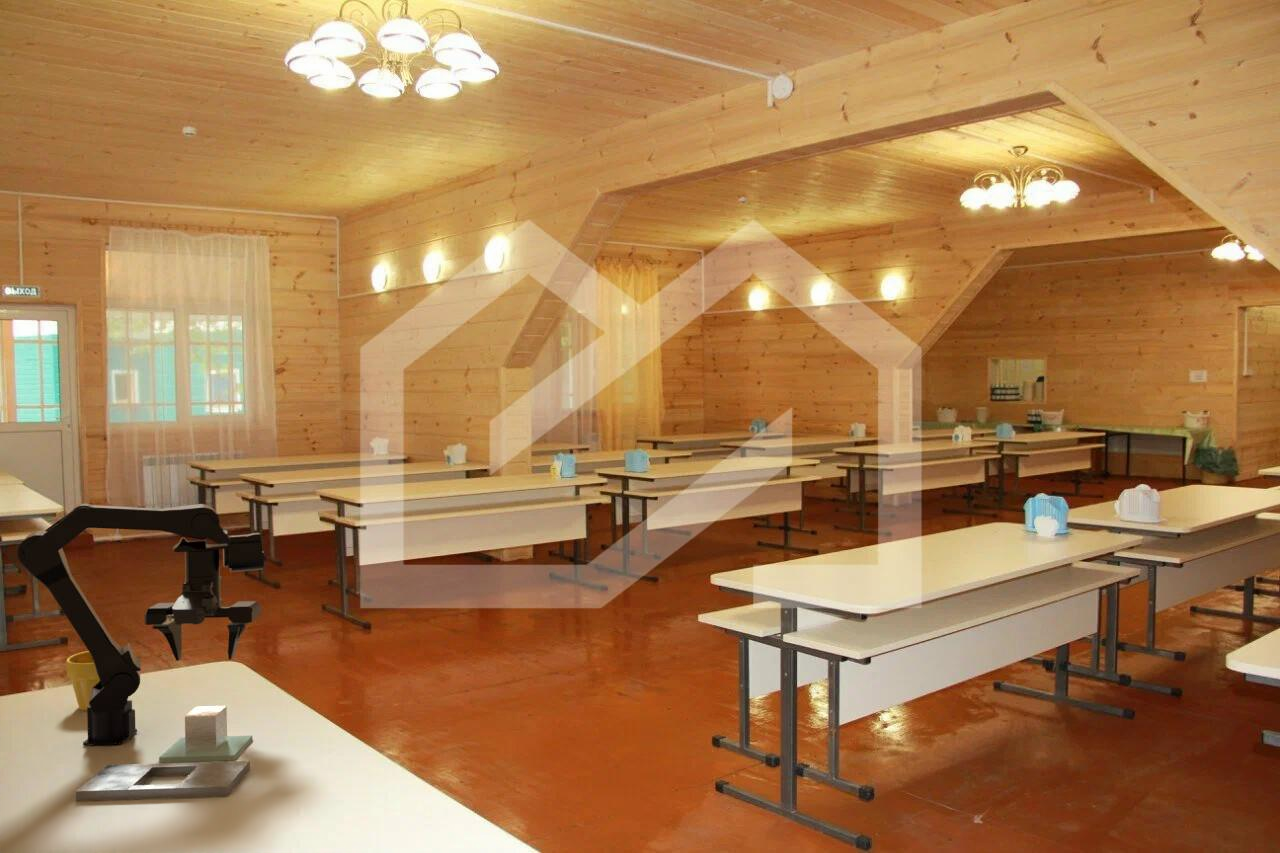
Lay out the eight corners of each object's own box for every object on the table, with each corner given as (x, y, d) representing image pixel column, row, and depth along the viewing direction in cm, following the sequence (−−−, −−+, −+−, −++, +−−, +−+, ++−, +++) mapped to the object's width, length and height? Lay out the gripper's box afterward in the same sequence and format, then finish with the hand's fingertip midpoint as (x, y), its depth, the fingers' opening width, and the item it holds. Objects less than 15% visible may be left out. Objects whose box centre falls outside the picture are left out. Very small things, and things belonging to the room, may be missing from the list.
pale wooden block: (185, 752, 160) (184, 716, 160) (197, 741, 165) (196, 706, 165) (216, 751, 160) (215, 715, 160) (227, 740, 165) (226, 705, 165)
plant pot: (110, 714, 181) (108, 663, 181) (55, 714, 182) (54, 663, 181) (139, 696, 192) (138, 648, 191) (87, 696, 192) (86, 648, 191)
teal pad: (159, 762, 158) (159, 757, 158) (181, 742, 167) (181, 737, 167) (234, 759, 159) (234, 755, 159) (252, 740, 168) (252, 735, 168)
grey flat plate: (75, 801, 143) (75, 791, 143) (108, 774, 153) (107, 765, 153) (227, 796, 145) (227, 786, 145) (250, 769, 155) (249, 760, 154)
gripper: (129, 584, 166) (131, 674, 166) (240, 582, 167) (242, 671, 168) (156, 572, 177) (158, 656, 177) (261, 570, 178) (262, 653, 179)
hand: (204, 659), depth 175 cm, fingers open, 9 cm apart
